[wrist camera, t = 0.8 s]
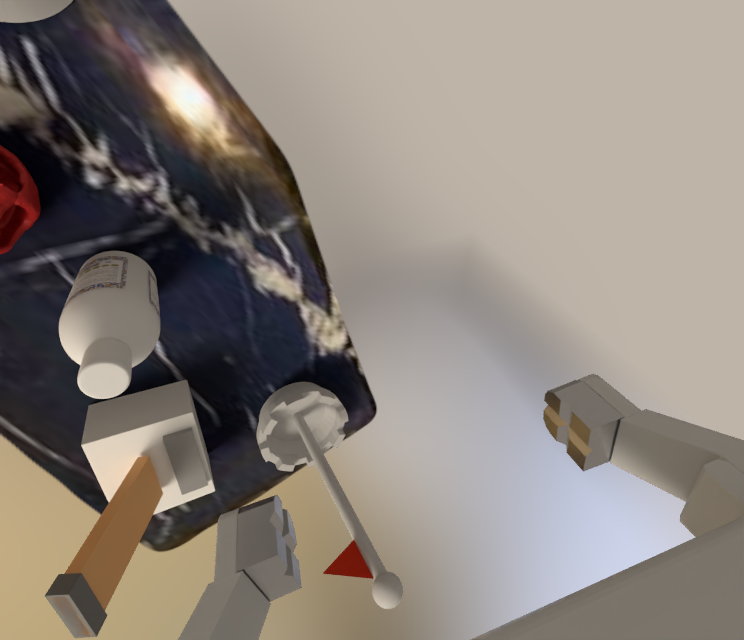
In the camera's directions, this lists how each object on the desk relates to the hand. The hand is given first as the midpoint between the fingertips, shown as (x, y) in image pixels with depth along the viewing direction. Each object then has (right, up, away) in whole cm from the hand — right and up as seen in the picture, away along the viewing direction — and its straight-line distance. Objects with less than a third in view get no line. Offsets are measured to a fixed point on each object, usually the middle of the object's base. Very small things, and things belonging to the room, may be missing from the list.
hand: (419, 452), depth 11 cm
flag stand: (-13, -10, +49) cm, 51 cm away
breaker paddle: (-26, -14, +33) cm, 45 cm away
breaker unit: (-30, -11, +39) cm, 50 cm away
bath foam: (-28, +8, +30) cm, 42 cm away
